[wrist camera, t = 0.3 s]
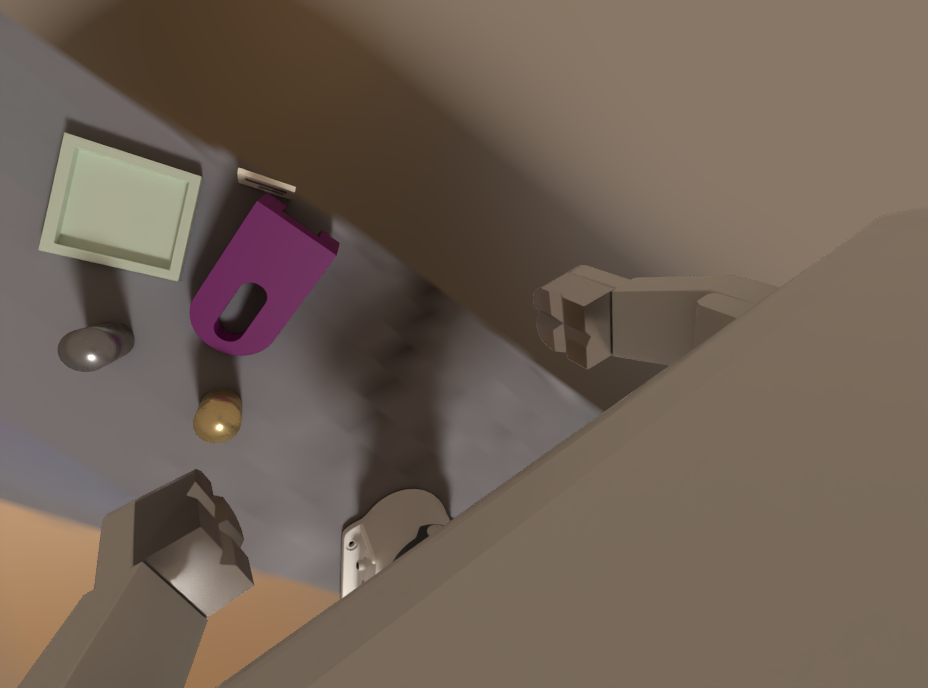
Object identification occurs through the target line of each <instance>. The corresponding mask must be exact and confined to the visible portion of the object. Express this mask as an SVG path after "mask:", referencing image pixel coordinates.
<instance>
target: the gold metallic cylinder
mask: <svg viewBox="0 0 928 688" xmlns="http://www.w3.org/2000/svg"><path fill="white" fill-rule="evenodd" d="M241 419H242V401H241V399H240V397H239V396H238V395H237V394H236V393H235V392H233V391H231V390H228V389H216V390H213V391H211V392H209V393H208V394H206V395H205V396H204V397H203V399H202V401H201V403H200V405H199V408H198V410H197V413H196V415H195V417H194V421H193V426H194V430H195V432H196V434H197V435H198V436H199V437H200V438H201V439H203V440H204V441H207V442H210V443H221V442H225V441H227V440H229V439H231V438H232V437H234V436H235V435H236V434H237V432H238V431H239V429H240V426H241Z"/></svg>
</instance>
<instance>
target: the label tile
mask: <svg viewBox="0 0 928 688" xmlns="http://www.w3.org/2000/svg"><path fill="white" fill-rule="evenodd" d="M237 174H238V183H241V184H244V185H247V186H250V187H253V188H256V189H259V190H262V191H265V192H269V193H272V194H275V195H278V196H281V197H284V198H287V199H290V200H291V199H292V197H293V195H294V193H295V189H296V187H294V186H291V185H288V184H286V183H283V182H280V181H277V180H274V179H271V178H268V177H265V176H262V175H259V174H256V173H253V172H250V171H248V170H245V169H242V168H238V172H237Z"/></svg>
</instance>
